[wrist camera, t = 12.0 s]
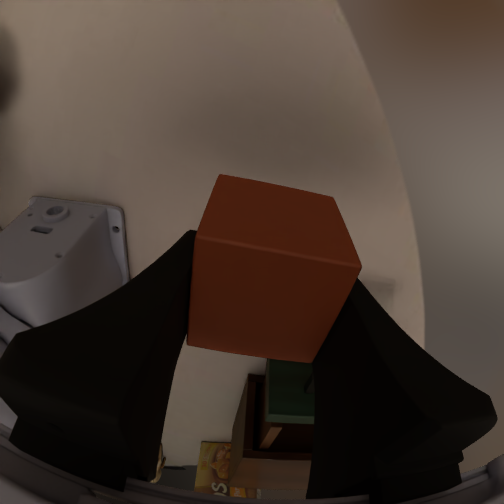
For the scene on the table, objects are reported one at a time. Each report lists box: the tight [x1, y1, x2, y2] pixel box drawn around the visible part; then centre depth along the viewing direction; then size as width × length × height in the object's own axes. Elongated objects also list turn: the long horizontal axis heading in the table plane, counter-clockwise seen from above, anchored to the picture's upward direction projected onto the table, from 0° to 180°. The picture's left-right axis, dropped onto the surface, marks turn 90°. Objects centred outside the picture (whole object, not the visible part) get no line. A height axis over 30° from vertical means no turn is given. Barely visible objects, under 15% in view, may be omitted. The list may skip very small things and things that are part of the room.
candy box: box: [194, 442, 261, 499], centre depth 34 cm, size 9×4×15 cm, turn 100°
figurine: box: [150, 444, 166, 483], centre depth 45 cm, size 4×4×15 cm
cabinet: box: [227, 374, 312, 490], centre depth 28 cm, size 14×12×9 cm
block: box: [186, 174, 362, 363], centre depth 10 cm, size 4×4×4 cm
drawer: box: [253, 358, 315, 453], centre depth 23 cm, size 17×10×7 cm, turn 171°
